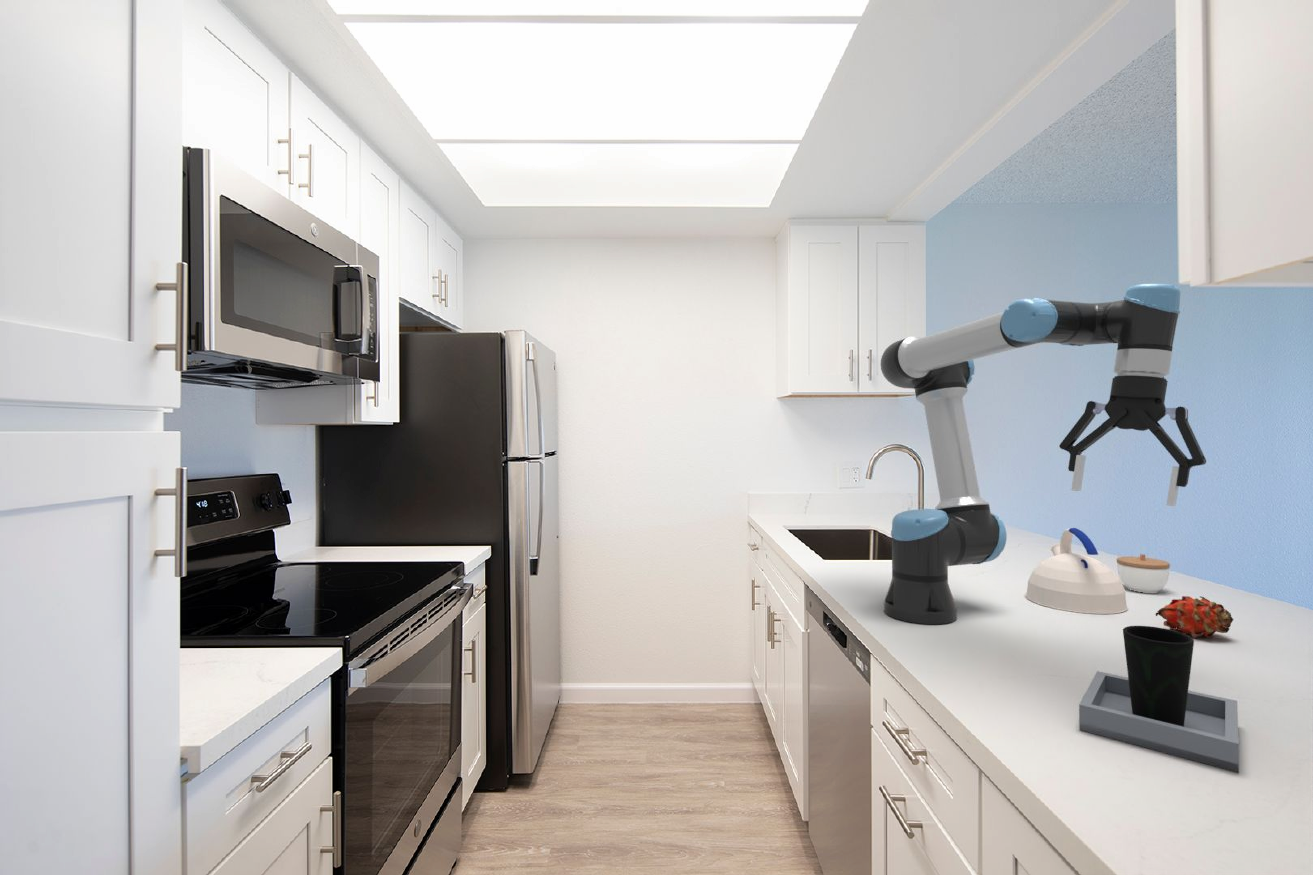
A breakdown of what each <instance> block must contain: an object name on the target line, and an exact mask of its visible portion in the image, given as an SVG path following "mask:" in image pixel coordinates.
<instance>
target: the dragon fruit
mask: <svg viewBox="0 0 1313 875" xmlns="http://www.w3.org/2000/svg"><path fill="white" fill-rule="evenodd" d="M1200 598H1201V599H1199V598H1197V597H1195V598H1193V597H1191V596H1189V595H1188V596H1187V595H1182V596H1181V599H1171V602H1170V603H1169V604H1166V605H1165V606H1164V607H1161V608H1160V609H1158V610H1157V611H1156V612H1155V617H1158V616H1160V617H1161V618H1162V619H1164V620H1165V621H1163V626H1165V627H1167V628H1169V630H1173V631H1177V632H1180V633H1183V634H1186V635H1187V634H1191V638H1192V639H1194V638H1197V637H1204V638H1207V639H1208V638H1209V639H1210V638H1214V634H1215V633H1220V634H1226V633H1228V632H1229V631H1230V627H1231V625H1232V623H1233V621H1234V618H1233V617H1232V613H1231V612H1229V611H1228V610H1227V609H1225V607H1224V605H1222V604H1220V603H1217V602H1214V601H1210V600H1209V599H1207V598H1206V597H1204V596H1200Z"/></svg>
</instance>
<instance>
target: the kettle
mask: <svg viewBox="0 0 1313 875" xmlns="http://www.w3.org/2000/svg"><path fill="white" fill-rule="evenodd" d="M1074 536H1075V537H1076V538H1077V539H1078V540H1079V541H1080V542H1081V544H1082V545H1083V547H1084V549H1085V551H1086V553H1087V555H1090V556H1087V555H1085V554H1080V553H1072V539H1073V537H1074ZM1050 550H1051V552H1052V554H1053V555H1052V556H1050V557H1048V558H1046V559H1044V560H1043V561H1041V562H1040V563H1038V565H1037V566H1036V567H1035V568H1033V570H1032V572H1031V574H1030V576H1029V578H1028V580H1027V588H1026V594H1025V597H1026V598H1027V599H1028V600H1029V601H1030V602H1032V603H1035V604H1036V603H1037V604H1036V605H1039V604H1040V605H1039V606H1042V607H1045V606H1047V607H1046V608H1049V607H1050V608H1051V609H1053V608H1054V609H1053V610H1058V609H1059V610H1058V611H1063V610H1066V611H1065V612H1069V611H1073V612H1072V613H1077V612H1079V613H1078V614H1087V613H1088V614H1090V615H1115V614H1116V615H1117V614H1122V613H1124V612H1125V611H1127V610H1129V608H1128V605H1127V598H1126V590H1125V587H1124V584H1123V583H1122V581H1121V580H1120V577H1119V576H1118V575H1117V574H1115V572H1114V571H1113V570H1112V569H1111V568H1110V567H1109V566H1107V565H1105V564H1104V563H1102V562H1101V561H1099V560H1098V559H1097V558H1096V559H1095V558H1093V557H1091V556H1095V555H1096V556H1098V555H1099V552H1098V549H1097V548H1096V546H1095V544H1094V543H1093V541H1092V540H1091V538H1089V536H1088V535H1087V534H1086V533H1085V532H1084V531H1082V530H1080V529H1078V528H1076V527H1072V528H1070V527H1069V528H1066V529H1065V530H1064V531H1063V532H1062V534H1061V536H1060V542H1059V543H1057V544H1053V546H1052V547H1051V548H1050ZM1121 612H1122V613H1121ZM1088 614H1087V615H1088Z"/></svg>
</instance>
